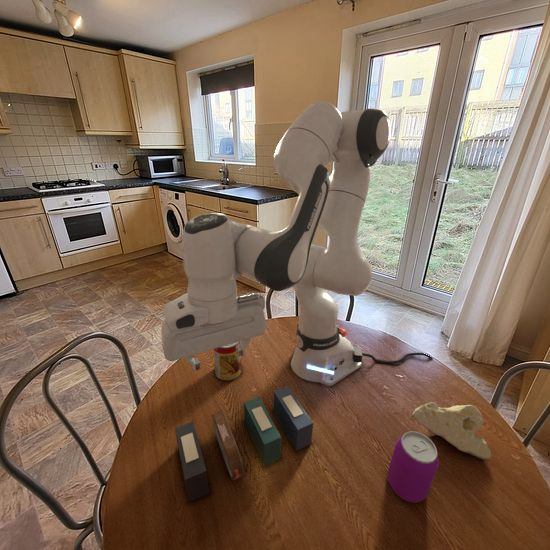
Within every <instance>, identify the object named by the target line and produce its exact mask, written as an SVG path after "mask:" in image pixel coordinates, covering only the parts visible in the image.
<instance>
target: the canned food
mask: <svg viewBox="0 0 550 550" xmlns="http://www.w3.org/2000/svg"><path fill="white" fill-rule="evenodd" d="M240 342H241V341H239V342H235V343H232V344H229V345H225V346H222V347H219V348H215V349H212V351H213V362H214V373H215V377H217V378H218V379H220V380H222V381H232V380H235V379H236V378H238V377H239V376H240V375H241V372H242V356H239V357H238V355H237V353H236V346H237V345H239V344H240Z"/></svg>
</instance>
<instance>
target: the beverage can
mask: <svg viewBox="0 0 550 550" xmlns="http://www.w3.org/2000/svg"><path fill="white" fill-rule="evenodd" d="M439 465H440V463H439V455H438V449H437V447H436V445H435V443H434V442H433V441H432V439H431V438H429V437H428V436H427V435H426V434H423V433H422V432H418V431H415V430H414V431H413V430H411V431H406V432H405V433H404V434H403V435H402V436H400V437H399V438H398V439H397V441H396V442H395V444H394V449H393V452H392V455H391V459H390V463H389V465H388V469H387V481H388V484H389V486H390V487H391V489H392V491H393V492H394V493H395V494H396V495H397V496H398V497H399V498H401V499H402V500H404V501H406V502H409V503H413V504H414V503H415V504H416V503H417V504H418V503H420V502H423V501H424V500H425V499H426V498H427V496H428V493H429V491H430V488H431V486H432V483H433V481H434V478H435V476H436V473H437V471H438V468H439Z"/></svg>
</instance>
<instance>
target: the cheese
mask: <svg viewBox="0 0 550 550" xmlns="http://www.w3.org/2000/svg"><path fill="white" fill-rule="evenodd" d="M437 403H439V401H438V400H437V401H435V402H434V401H430V402H427V403H425V404H422V405H420V406H419V407H415V409H414V410H413V411H412V413H411V417H412V418H413V419H414V420H415V422H416V423H417V424H419V425H420V426H422V427H423V428H425V429H426V430H427V432H428V434H429V436H432V437H433V436H440V437H441V438H442V439H444V440H445V441H446V442H447V443H449V444H451V445H452V447H455V448H456V449H457V450H458V451H460V452H463V453H466V454H470V455H471V456H474V457H477V458H478V459H480V460H489V459H491V458H492V454H491V449H490V447H489V446H488V445H489V444H488V443H487V441H486V440H485V438H483V437H481V436H476V434H477V432H478V431H479V430H480V429H481V428H482V426H483V420H484V419H483V418H484V417H483V415H482V413H481V412H480V410H479V409H478V408H477V407H476V406H475V405H473V404H466V405H462V404H461V405H457V404H456V405H453V406H451V407H440V406H439V405H438V404H437Z"/></svg>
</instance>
